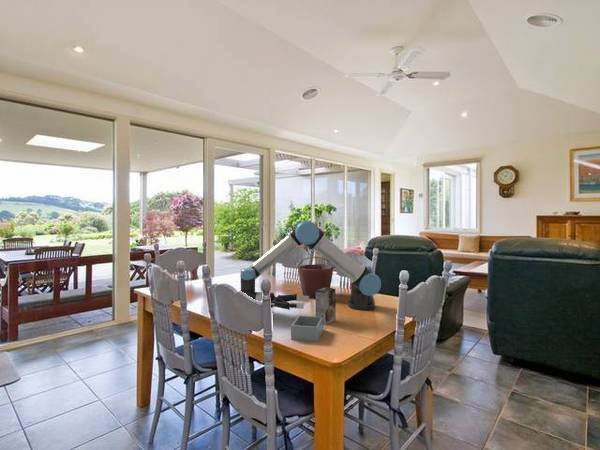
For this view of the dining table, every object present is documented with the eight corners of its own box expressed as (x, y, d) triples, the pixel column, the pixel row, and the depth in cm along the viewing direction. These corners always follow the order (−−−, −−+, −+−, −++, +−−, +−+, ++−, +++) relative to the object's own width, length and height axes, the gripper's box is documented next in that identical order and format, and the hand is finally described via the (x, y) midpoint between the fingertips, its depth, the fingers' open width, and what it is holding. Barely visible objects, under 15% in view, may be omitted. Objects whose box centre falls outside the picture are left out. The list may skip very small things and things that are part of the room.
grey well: (323, 329, 162) (323, 317, 161) (317, 341, 147) (317, 327, 147) (298, 328, 164) (298, 315, 164) (290, 339, 150) (290, 325, 150)
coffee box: (325, 317, 180) (325, 286, 179) (336, 320, 176) (336, 288, 175) (314, 322, 173) (314, 289, 172) (325, 325, 169) (325, 291, 168)
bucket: (292, 298, 221) (292, 258, 220) (302, 290, 242) (302, 254, 241) (331, 300, 214) (331, 259, 213) (338, 292, 235) (338, 255, 234)
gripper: (273, 301, 193) (311, 303, 188) (257, 314, 169) (300, 316, 164) (272, 287, 193) (311, 289, 188) (257, 298, 168) (300, 301, 164)
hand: (306, 302), depth 176 cm, fingers open, 13 cm apart
